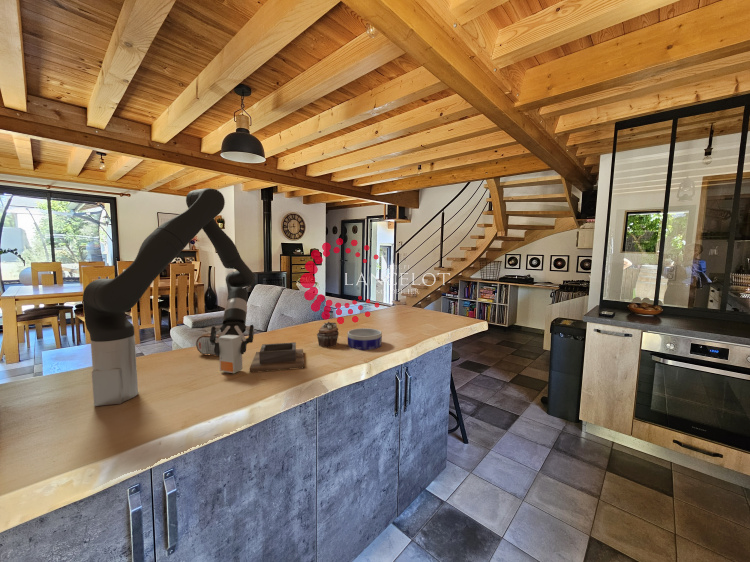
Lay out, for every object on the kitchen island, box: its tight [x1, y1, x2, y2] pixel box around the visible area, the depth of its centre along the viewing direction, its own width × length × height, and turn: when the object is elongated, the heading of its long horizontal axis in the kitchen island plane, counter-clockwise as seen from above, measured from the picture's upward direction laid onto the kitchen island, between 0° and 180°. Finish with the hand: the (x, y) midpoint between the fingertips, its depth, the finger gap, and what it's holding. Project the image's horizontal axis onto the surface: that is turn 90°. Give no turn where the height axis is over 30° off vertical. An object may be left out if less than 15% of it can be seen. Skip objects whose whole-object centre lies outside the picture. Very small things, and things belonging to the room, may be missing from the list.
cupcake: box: [316, 321, 340, 348], centre depth 137 cm, size 10×10×10 cm
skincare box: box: [219, 335, 243, 374], centre depth 104 cm, size 6×4×12 cm
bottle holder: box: [249, 341, 305, 373], centre depth 115 cm, size 18×18×6 cm
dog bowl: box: [347, 327, 383, 351], centre depth 137 cm, size 15×15×6 cm
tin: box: [195, 333, 221, 356], centre depth 122 cm, size 15×3×8 cm, turn 84°
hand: (229, 353), depth 103 cm, fingers closed on skincare box, 7 cm apart
